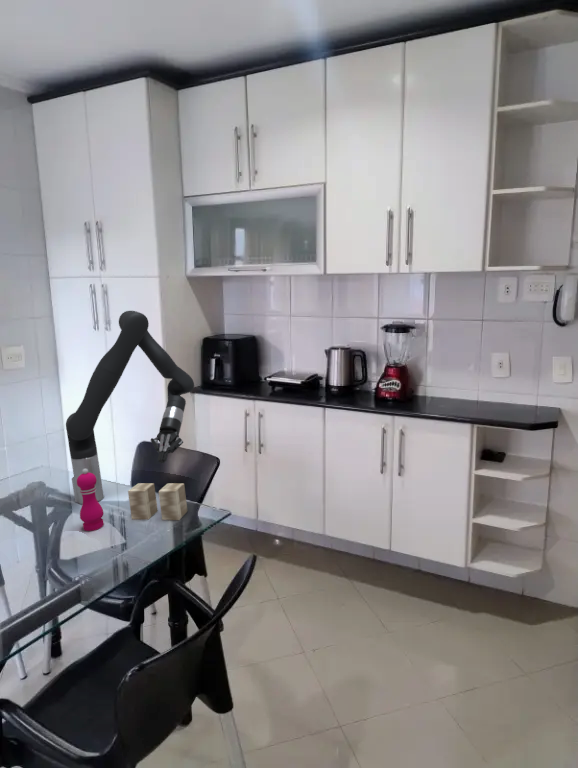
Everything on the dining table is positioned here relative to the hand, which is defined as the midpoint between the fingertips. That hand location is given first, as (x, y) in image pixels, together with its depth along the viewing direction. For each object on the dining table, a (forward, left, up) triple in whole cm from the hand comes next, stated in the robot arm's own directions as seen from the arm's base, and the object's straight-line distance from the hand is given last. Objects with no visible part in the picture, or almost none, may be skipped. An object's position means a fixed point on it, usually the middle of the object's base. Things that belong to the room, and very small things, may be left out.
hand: (161, 462), depth 192 cm
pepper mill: (-14, -26, -13) cm, 32 cm away
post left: (0, -17, -13) cm, 21 cm away
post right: (+11, -17, -13) cm, 24 cm away
